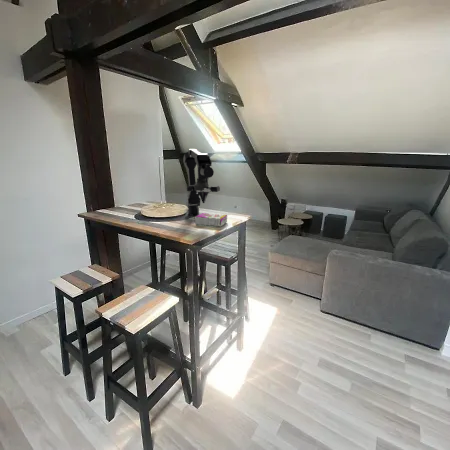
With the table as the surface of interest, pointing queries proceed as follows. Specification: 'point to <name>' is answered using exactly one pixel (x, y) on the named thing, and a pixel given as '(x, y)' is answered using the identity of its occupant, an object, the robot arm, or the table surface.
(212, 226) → the mat
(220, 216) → the candy bar box
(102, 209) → the table surface
